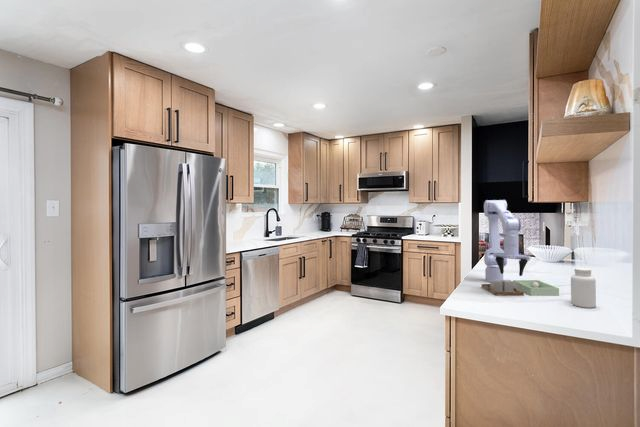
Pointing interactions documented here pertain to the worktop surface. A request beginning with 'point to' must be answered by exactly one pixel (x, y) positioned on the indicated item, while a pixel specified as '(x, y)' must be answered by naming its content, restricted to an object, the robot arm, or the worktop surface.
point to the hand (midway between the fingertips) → (511, 274)
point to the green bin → (541, 291)
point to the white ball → (535, 285)
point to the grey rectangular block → (496, 285)
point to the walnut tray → (515, 293)
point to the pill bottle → (583, 288)
